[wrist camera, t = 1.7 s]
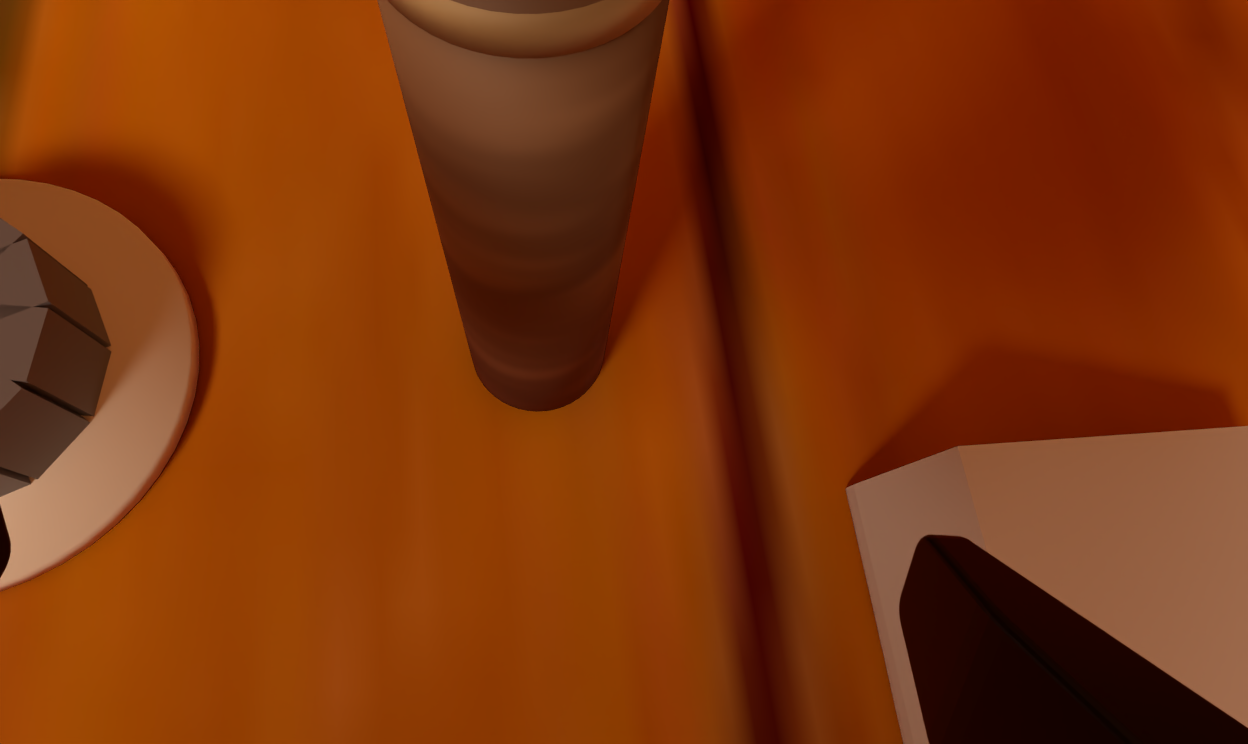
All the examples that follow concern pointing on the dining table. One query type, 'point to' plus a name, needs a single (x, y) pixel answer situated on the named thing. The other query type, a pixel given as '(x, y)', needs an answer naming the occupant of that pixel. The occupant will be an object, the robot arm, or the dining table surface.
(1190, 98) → the dining table surface
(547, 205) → the brown tapered rod
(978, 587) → the robot arm
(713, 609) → the dining table surface
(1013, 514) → the decorative molding
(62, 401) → the cup bracket
